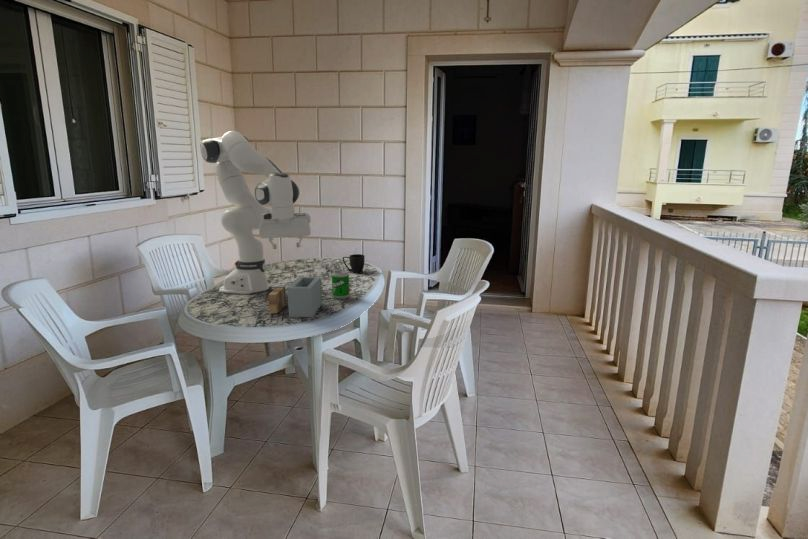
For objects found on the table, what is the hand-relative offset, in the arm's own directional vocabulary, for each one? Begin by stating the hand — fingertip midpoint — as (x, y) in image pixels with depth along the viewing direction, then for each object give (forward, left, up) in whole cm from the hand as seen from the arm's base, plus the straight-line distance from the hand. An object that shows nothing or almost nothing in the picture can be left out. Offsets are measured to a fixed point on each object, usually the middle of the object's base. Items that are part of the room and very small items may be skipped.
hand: (286, 247), depth 184 cm
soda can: (+19, +14, -25) cm, 35 cm away
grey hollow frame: (+8, -5, -25) cm, 27 cm away
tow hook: (+17, +26, -25) cm, 40 cm away
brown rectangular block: (-4, -4, -25) cm, 26 cm away
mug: (+18, +62, -25) cm, 69 cm away
